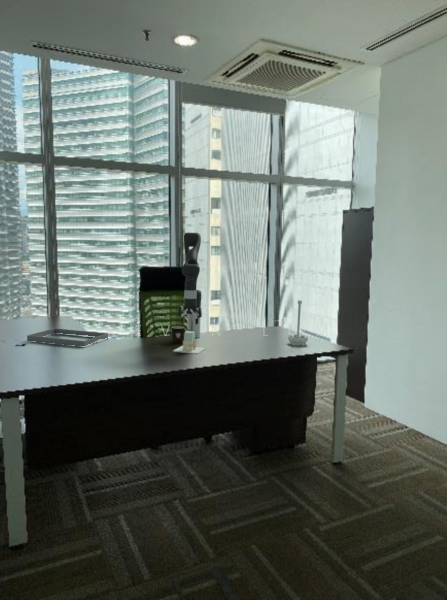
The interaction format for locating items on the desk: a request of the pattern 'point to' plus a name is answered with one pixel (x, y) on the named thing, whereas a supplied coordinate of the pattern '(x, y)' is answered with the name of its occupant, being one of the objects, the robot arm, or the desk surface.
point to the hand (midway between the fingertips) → (189, 323)
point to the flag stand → (296, 338)
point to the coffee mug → (178, 334)
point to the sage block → (189, 336)
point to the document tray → (39, 338)
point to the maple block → (189, 345)
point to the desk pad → (196, 351)
